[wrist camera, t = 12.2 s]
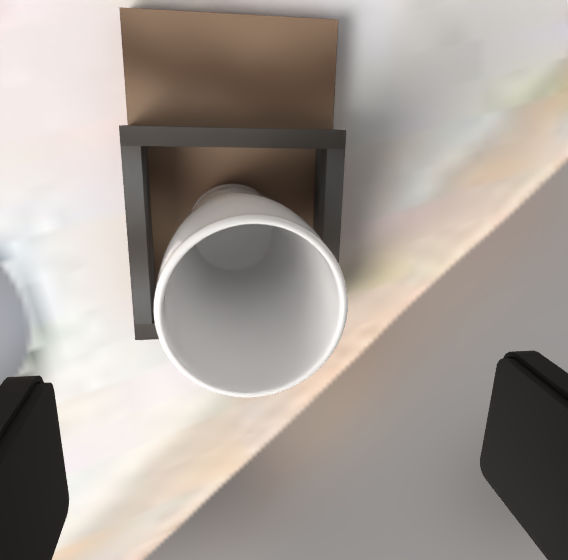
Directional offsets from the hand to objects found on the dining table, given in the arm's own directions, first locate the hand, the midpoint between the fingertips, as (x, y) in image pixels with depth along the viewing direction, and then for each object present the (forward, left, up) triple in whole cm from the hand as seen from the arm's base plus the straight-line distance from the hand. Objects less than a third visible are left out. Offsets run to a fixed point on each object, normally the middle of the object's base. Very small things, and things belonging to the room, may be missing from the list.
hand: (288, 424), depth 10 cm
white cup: (0, 0, -22) cm, 22 cm away
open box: (-3, 0, -23) cm, 23 cm away
